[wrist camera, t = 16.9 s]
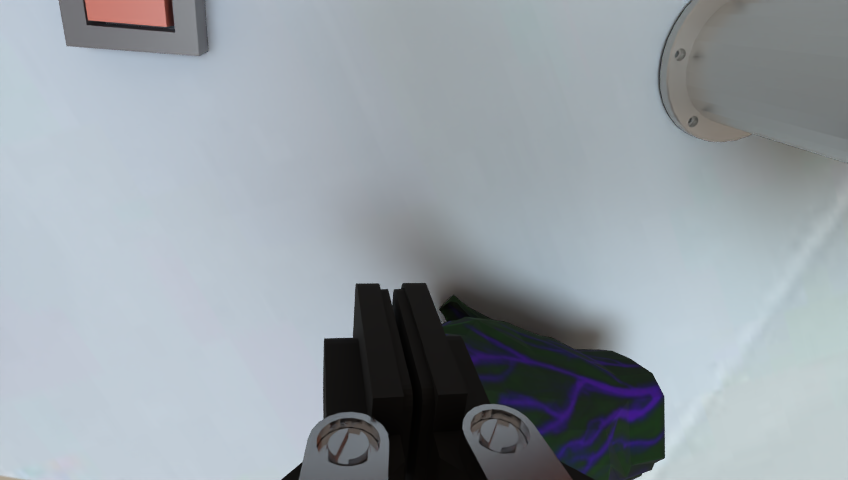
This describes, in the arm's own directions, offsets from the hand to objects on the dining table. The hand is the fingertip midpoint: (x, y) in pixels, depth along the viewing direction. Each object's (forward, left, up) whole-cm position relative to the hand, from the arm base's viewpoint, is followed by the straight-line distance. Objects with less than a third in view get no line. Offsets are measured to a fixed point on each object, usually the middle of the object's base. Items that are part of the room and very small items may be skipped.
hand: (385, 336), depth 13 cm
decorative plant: (-11, +22, -27) cm, 37 cm away
